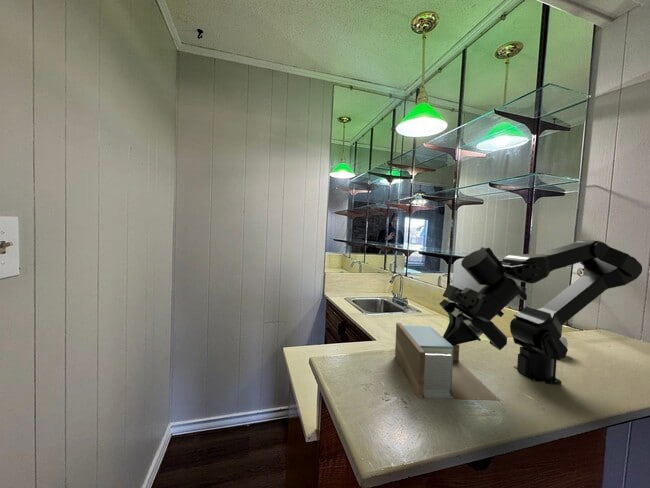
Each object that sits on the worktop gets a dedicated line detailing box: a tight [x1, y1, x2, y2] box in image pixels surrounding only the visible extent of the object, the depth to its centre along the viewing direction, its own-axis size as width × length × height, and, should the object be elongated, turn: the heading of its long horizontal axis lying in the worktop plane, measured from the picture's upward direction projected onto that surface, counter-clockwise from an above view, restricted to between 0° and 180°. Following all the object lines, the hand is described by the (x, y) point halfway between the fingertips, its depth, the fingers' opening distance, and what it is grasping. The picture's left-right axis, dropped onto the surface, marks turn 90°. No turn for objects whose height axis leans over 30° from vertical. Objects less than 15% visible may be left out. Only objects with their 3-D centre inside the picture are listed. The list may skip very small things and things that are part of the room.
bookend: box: [423, 353, 454, 400], centre depth 52 cm, size 6×2×8 cm, turn 90°
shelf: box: [394, 322, 501, 401], centre depth 60 cm, size 16×17×10 cm
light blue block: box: [402, 324, 454, 390], centre depth 60 cm, size 7×12×9 cm, turn 0°
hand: (441, 346), depth 60 cm, fingers closed, pressing on light blue block
